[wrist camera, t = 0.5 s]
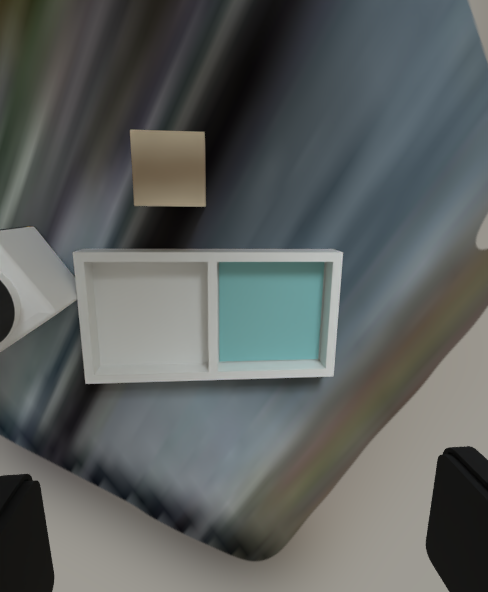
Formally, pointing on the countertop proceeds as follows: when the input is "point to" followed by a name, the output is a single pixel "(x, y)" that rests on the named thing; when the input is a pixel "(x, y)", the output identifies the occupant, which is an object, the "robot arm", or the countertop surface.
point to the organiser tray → (207, 313)
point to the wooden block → (168, 168)
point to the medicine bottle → (30, 283)
